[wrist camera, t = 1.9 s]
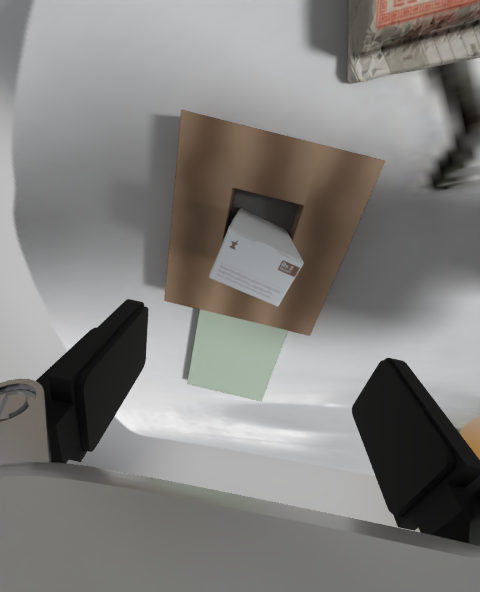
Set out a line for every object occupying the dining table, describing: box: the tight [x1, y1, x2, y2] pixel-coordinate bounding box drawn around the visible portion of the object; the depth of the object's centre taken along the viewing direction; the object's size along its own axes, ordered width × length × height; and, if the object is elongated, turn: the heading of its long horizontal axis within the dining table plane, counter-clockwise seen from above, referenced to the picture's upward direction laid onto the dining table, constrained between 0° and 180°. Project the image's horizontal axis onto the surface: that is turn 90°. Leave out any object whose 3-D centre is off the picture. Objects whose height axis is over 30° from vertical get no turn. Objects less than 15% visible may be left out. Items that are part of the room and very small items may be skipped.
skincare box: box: [209, 208, 303, 307], centre depth 23 cm, size 6×4×12 cm
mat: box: [187, 309, 288, 401], centre depth 36 cm, size 12×14×1 cm
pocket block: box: [164, 110, 385, 336], centre depth 27 cm, size 18×19×4 cm
